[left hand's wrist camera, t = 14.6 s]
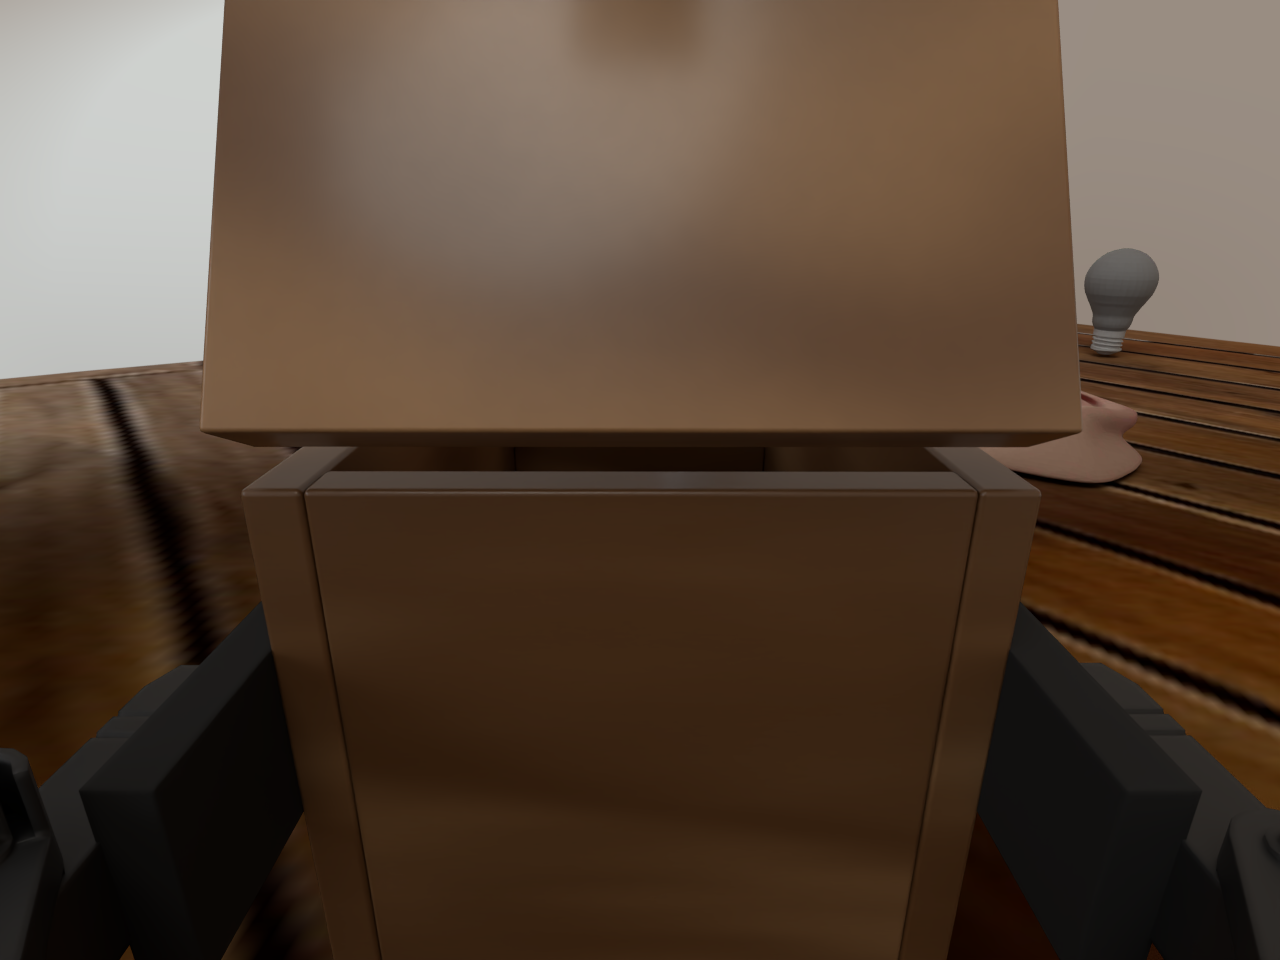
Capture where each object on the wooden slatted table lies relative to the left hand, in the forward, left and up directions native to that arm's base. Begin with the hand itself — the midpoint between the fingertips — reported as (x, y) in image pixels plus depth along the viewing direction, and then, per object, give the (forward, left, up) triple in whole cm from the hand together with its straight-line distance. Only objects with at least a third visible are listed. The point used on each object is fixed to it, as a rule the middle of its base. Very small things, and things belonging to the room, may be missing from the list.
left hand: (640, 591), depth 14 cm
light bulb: (-19, +74, -7) cm, 77 cm away
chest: (-3, +2, -7) cm, 8 cm away
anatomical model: (-9, +38, -7) cm, 40 cm away
